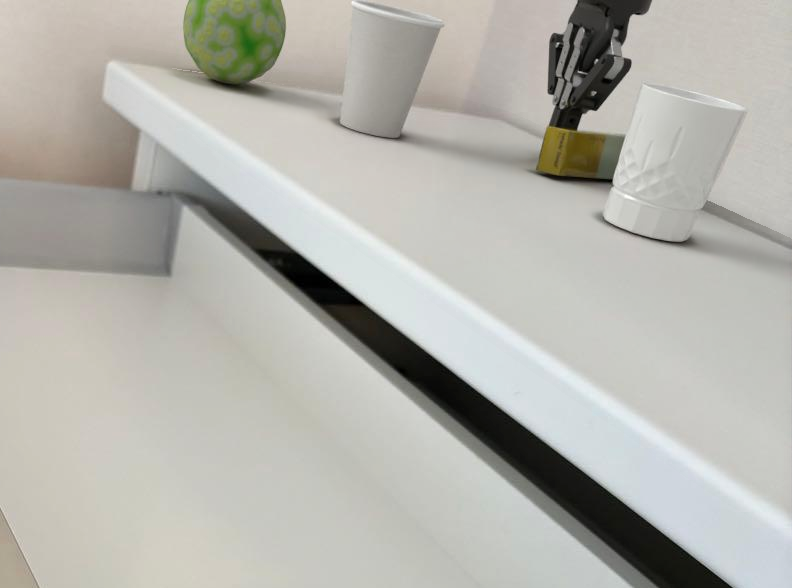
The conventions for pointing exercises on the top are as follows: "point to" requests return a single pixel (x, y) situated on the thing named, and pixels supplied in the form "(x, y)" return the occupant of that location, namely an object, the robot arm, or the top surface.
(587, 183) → the top surface
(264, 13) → the decorative ball
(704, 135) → the white cup
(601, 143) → the medication box
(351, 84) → the dixie cup
